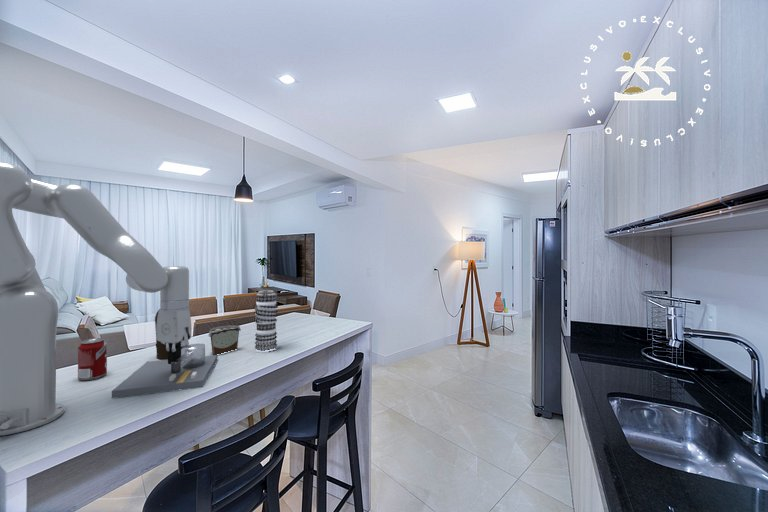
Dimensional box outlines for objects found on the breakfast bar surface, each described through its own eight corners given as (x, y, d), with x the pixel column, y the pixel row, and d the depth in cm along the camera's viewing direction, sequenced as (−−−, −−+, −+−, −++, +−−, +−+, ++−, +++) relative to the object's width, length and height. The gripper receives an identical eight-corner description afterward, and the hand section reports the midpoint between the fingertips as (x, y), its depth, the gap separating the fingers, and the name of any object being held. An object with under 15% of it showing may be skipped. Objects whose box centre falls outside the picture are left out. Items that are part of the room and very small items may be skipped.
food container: (233, 346, 132) (233, 323, 132) (240, 349, 128) (240, 325, 128) (202, 354, 122) (202, 329, 122) (209, 357, 118) (210, 331, 118)
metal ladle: (185, 361, 107) (185, 344, 107) (207, 359, 108) (207, 342, 108) (160, 384, 88) (160, 363, 88) (187, 381, 89) (187, 361, 89)
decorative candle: (282, 348, 130) (282, 289, 130) (265, 354, 122) (266, 292, 122) (266, 345, 134) (266, 288, 134) (249, 351, 126) (249, 291, 126)
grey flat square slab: (202, 386, 91) (202, 376, 91) (111, 398, 84) (111, 387, 84) (217, 360, 115) (217, 352, 115) (147, 367, 107) (147, 358, 107)
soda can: (88, 382, 94) (89, 343, 94) (71, 380, 95) (72, 342, 95) (112, 374, 101) (112, 338, 101) (96, 372, 102) (96, 337, 102)
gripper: (145, 305, 95) (145, 364, 95) (180, 308, 90) (180, 370, 90) (169, 302, 102) (169, 356, 102) (203, 304, 97) (202, 361, 97)
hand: (174, 362), depth 96 cm, fingers closed
